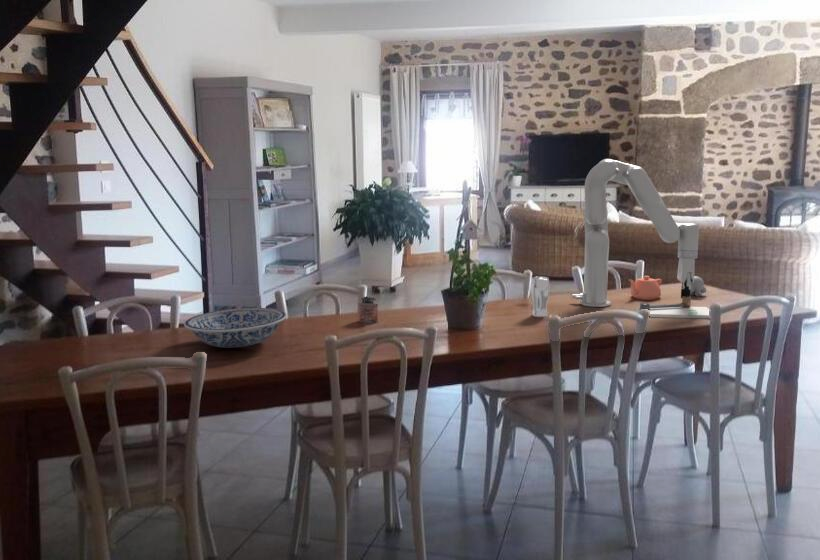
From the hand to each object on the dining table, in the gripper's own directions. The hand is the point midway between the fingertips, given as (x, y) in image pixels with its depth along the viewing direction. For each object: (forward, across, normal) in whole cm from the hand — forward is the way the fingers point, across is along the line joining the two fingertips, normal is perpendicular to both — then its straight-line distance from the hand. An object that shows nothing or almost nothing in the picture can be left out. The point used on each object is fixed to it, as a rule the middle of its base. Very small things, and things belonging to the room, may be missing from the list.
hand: (685, 298), depth 307 cm
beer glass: (+4, +20, -59) cm, 62 cm away
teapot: (+4, -18, -13) cm, 23 cm away
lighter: (+4, +37, -124) cm, 129 cm away
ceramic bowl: (+4, +75, -162) cm, 178 cm away
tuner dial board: (+4, +12, -6) cm, 14 cm away
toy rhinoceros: (+4, -23, +7) cm, 24 cm away
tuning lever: (+2, +9, -9) cm, 13 cm away
